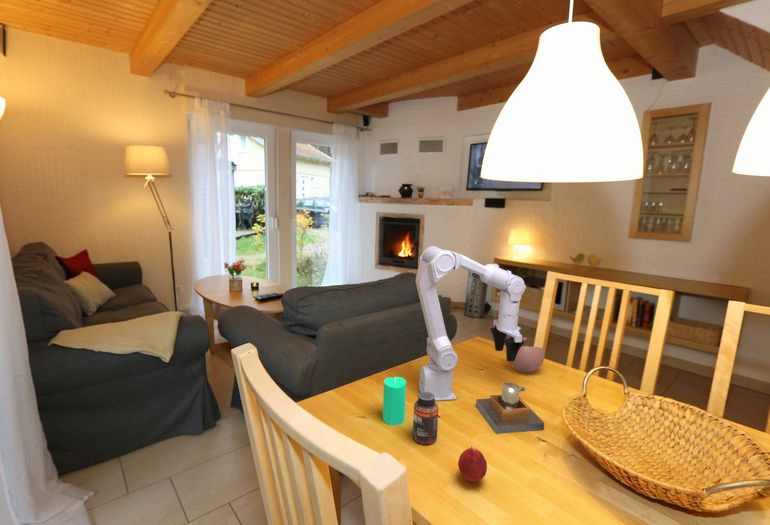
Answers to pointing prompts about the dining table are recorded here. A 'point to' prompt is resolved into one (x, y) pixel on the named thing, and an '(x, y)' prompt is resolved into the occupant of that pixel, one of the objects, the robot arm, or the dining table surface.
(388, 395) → the candle
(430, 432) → the supplement bottle
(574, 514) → the dining table surface
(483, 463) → the onion
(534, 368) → the mortar and pestle
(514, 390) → the spout can
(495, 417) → the wooden socket on base
